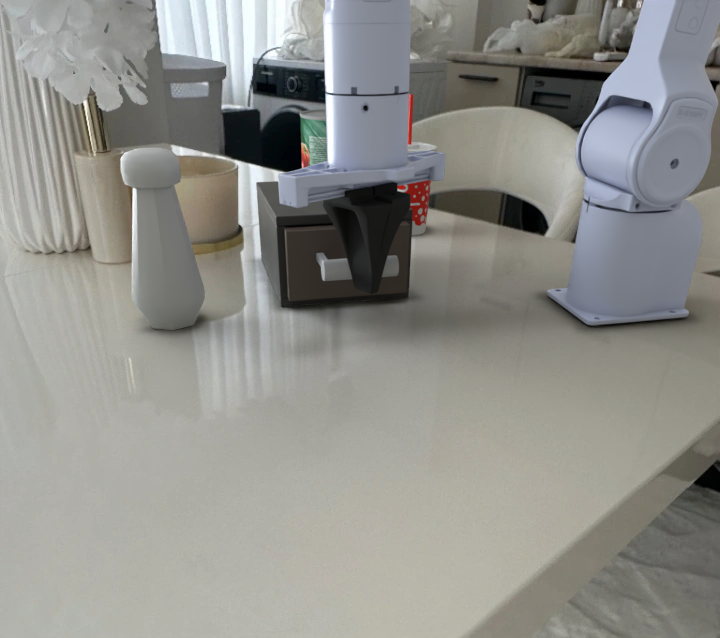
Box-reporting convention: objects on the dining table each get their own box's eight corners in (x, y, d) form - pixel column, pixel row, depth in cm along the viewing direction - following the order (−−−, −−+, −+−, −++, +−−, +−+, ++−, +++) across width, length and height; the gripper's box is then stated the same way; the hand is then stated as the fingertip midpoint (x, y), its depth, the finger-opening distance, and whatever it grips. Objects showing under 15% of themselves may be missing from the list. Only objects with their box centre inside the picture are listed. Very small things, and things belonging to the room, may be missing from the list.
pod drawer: (423, 311, 59) (427, 239, 56) (298, 321, 57) (295, 247, 53) (371, 252, 73) (372, 191, 69) (269, 258, 70) (265, 196, 67)
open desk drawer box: (409, 297, 64) (413, 209, 60) (280, 307, 62) (275, 216, 57) (371, 254, 75) (372, 177, 71) (261, 261, 73) (256, 181, 68)
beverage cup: (369, 232, 82) (371, 94, 74) (395, 221, 86) (400, 90, 79) (416, 240, 79) (423, 98, 72) (440, 228, 84) (450, 93, 76)
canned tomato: (370, 215, 89) (371, 116, 83) (307, 217, 87) (304, 117, 81) (358, 200, 95) (358, 108, 89) (299, 202, 94) (296, 109, 88)
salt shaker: (191, 337, 56) (167, 158, 49) (124, 331, 57) (91, 155, 50) (218, 311, 61) (200, 145, 54) (155, 305, 62) (129, 142, 55)
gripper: (322, 104, 42) (329, 325, 49) (481, 89, 50) (467, 281, 57) (253, 96, 46) (269, 301, 54) (409, 84, 54) (404, 263, 62)
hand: (367, 289), depth 56 cm, fingers closed, pressing on pod drawer
